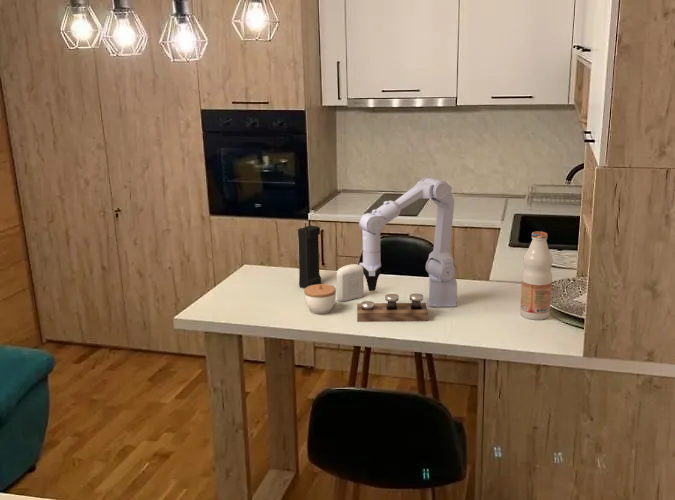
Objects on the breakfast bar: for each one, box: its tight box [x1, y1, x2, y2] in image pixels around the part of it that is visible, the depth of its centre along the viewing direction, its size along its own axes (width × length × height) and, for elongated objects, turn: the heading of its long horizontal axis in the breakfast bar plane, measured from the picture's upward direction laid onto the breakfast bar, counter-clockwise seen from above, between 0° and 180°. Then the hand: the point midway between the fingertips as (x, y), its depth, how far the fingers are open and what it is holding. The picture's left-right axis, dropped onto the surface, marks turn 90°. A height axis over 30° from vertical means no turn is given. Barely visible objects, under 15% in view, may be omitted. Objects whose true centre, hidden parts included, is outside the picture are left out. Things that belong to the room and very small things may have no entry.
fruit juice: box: [519, 231, 554, 321], centre depth 235 cm, size 9×9×28 cm
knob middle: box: [384, 293, 400, 310], centre depth 239 cm, size 4×4×4 cm
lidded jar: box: [303, 283, 337, 315], centre depth 246 cm, size 11×11×9 cm
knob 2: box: [409, 293, 424, 310], centre depth 239 cm, size 4×4×4 cm
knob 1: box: [360, 300, 375, 310], centre depth 240 cm, size 4×4×4 cm
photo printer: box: [336, 263, 365, 302], centre depth 256 cm, size 10×4×12 cm, turn 123°
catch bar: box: [356, 302, 429, 323], centre depth 240 cm, size 23×9×3 cm, turn 88°
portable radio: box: [298, 222, 322, 289], centre depth 268 cm, size 8×6×25 cm
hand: (372, 290), depth 238 cm, fingers closed
